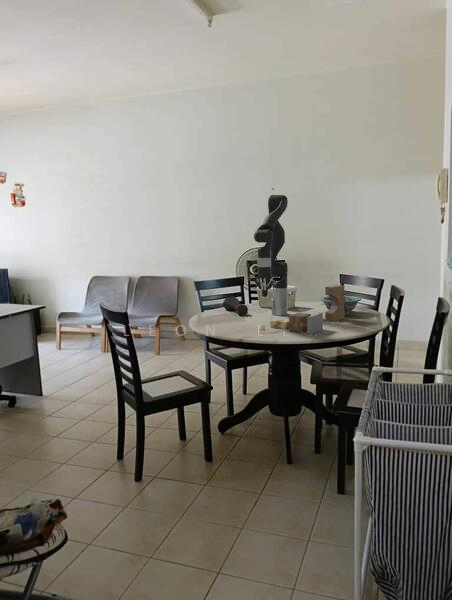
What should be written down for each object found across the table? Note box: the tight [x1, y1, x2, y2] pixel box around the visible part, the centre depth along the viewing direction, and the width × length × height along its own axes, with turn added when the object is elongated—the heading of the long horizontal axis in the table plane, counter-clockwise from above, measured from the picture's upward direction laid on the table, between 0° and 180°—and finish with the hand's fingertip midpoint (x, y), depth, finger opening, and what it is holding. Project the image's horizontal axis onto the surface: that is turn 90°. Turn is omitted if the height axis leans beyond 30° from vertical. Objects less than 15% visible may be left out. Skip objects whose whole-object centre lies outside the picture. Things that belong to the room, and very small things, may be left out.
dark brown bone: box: [222, 295, 249, 317], centre depth 318 cm, size 11×10×28 cm
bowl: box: [320, 295, 362, 316], centre depth 302 cm, size 25×25×10 cm
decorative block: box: [324, 284, 345, 322], centre depth 282 cm, size 11×6×20 cm, turn 124°
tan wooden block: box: [269, 319, 289, 330], centre depth 267 cm, size 10×4×4 cm, turn 55°
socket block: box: [288, 312, 312, 333], centre depth 259 cm, size 8×10×8 cm
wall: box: [306, 312, 324, 335], centre depth 254 cm, size 2×14×9 cm, turn 144°
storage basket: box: [256, 285, 298, 309], centre depth 332 cm, size 24×16×15 cm
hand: (264, 296), depth 270 cm, fingers closed
